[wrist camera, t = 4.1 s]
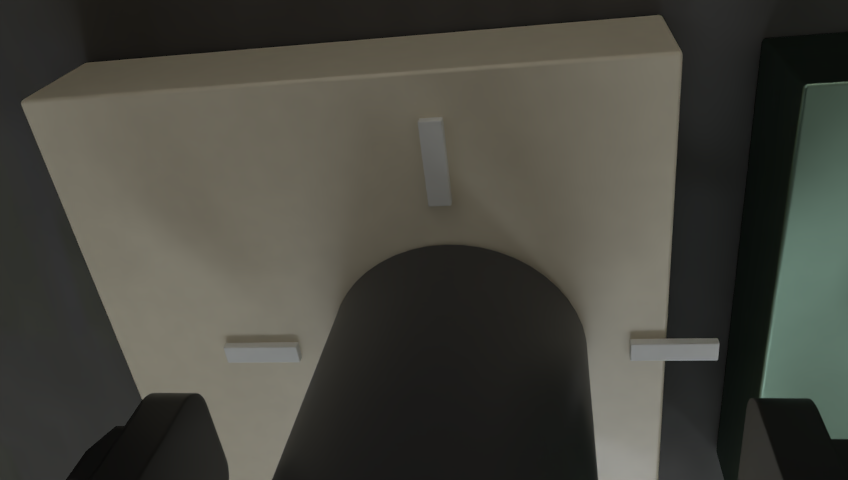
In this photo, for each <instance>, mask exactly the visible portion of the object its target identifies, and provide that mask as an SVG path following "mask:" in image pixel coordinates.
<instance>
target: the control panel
mask: <svg viewBox="0 0 848 480" xmlns="http://www.w3.org/2000/svg"><path fill="white" fill-rule="evenodd" d="M682 60H683V54H682V51H681V49H680V48H679V46H678V44H677V42H676V40H675V39H674V37H673V35H672V33H671V31H670V30H669V28H668V26H667V24H666V22H665V20H664V19H663V17H662V16H660V15H653V16H641V17H629V18H617V19H605V20H593V21H581V22H569V23H557V24H545V25H533V26H521V27H509V28H497V29H485V30H473V31H461V32H449V33H437V34H425V35H413V36H401V37H389V38H377V39H365V40H353V41H341V42H329V43H317V44H305V45H293V46H281V47H269V48H257V49H245V50H233V51H221V52H209V53H197V54H185V55H173V56H161V57H149V58H137V59H125V60H113V61H101V62H89V63H85V64H83V65H81V66H79V67H78V68H76V69H74V70H73V71H71V72H69V73H68V74H66V75H64V76H62V77H61V78H59V79H57V80H56V81H54V82H52V83H51V84H49V85H47V86H45V87H44V88H42V89H40V90H39V91H37V92H35V93H34V94H32V95H30V96H28V97H27V98H25V99H23V100H22V101H21V105H22V108H23V110H24V113H25V115H26V118H27V120H28V122H29V125H30V127H31V130H32V132H33V135H34V137H35V140H36V142H37V144H38V147H39V149H40V152H41V154H42V157H43V159H44V162H45V164H46V166H47V169H48V171H49V174H50V176H51V179H52V181H53V183H54V186H55V188H56V191H57V193H58V196H59V198H60V201H61V203H62V205H63V208H64V210H65V213H66V215H67V218H68V220H69V222H70V225H71V227H72V230H73V232H74V235H75V237H76V240H77V242H78V244H79V247H80V249H81V252H82V254H83V257H84V259H85V261H86V264H87V266H88V269H89V271H90V274H91V276H92V279H93V281H94V283H95V286H96V288H97V291H98V293H99V296H100V298H101V301H102V303H103V305H104V308H105V310H106V313H107V315H108V318H109V320H110V322H111V325H112V327H113V330H114V332H115V335H116V337H117V340H118V342H119V344H120V347H121V349H122V352H123V354H124V357H125V359H126V361H127V364H128V366H129V369H130V371H131V374H132V376H133V379H134V381H135V383H136V386H137V388H138V391H139V393H140V396H141V398H142V400H143V399H144V398H145V397H146V396H147V395H149V394H151V393H198V394H200V395H201V396H202V397H203V398H204V399H205V401H206V403H207V406H208V409H209V412H210V415H211V417H212V420H213V423H214V426H215V428H216V431H217V434H218V437H219V440H220V442H221V445H222V448H223V451H224V453H225V456H226V459H227V462H228V468H229V480H272V478H273V476H274V473H275V471H276V468H277V466H278V463H279V460H280V458H281V455H282V453H283V450H284V448H285V445H286V443H287V440H288V438H289V435H290V432H291V430H292V427H293V425H294V422H295V420H296V417H297V415H298V412H299V410H300V407H301V404H302V402H303V399H304V397H305V394H306V392H307V389H308V387H309V384H310V381H311V379H312V376H313V374H314V371H315V369H316V366H317V364H318V361H319V359H320V356H321V353H322V351H323V348H324V346H325V343H326V341H327V338H328V336H329V333H330V331H331V328H332V325H333V323H334V320H335V318H336V315H337V313H338V310H339V308H340V305H341V303H342V301H343V299H344V298H345V296H346V294H347V292H348V291H349V290H350V289H351V287H352V286H353V285H354V284H355V282H356V281H357V280H358V279H359V278H361V277H362V276H363V275H364V274H365V273H366V272H367V271H369V270H370V269H371V268H373V267H374V266H376V265H377V264H379V263H380V262H382V261H384V260H386V259H388V258H390V257H393V256H395V255H397V254H400V253H403V252H406V251H409V250H412V249H416V248H421V247H426V246H434V245H467V246H475V247H481V248H485V249H489V250H493V251H497V252H500V253H503V254H506V255H508V256H511V257H514V258H516V259H518V260H520V261H522V262H524V263H526V264H527V265H529V266H531V267H533V268H534V269H535V270H537V271H538V272H540V273H541V274H543V275H544V276H545V277H547V278H548V279H549V280H550V281H551V282H552V283H553V284H555V285H556V286H557V287H558V288H559V289H560V291H561V292H562V293H563V294H564V295H565V296H566V298H567V299H568V300H569V301H570V303H571V305H572V306H573V308H574V309H575V311H576V312H577V314H578V317H579V319H580V321H581V323H582V326H583V329H584V333H585V337H586V342H587V353H588V365H589V376H590V388H591V400H592V412H593V424H594V436H595V448H596V459H597V471H598V480H658V475H659V458H660V441H661V423H662V406H663V389H664V371H665V361H717V360H718V356H719V346H720V343H719V340H718V338H674V339H666V337H667V320H668V302H669V285H670V268H671V250H672V233H673V216H674V199H675V181H676V164H677V147H678V130H679V112H680V95H681V78H682Z"/></svg>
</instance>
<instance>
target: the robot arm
mask: <svg viewBox="0 0 848 480" xmlns="http://www.w3.org/2000/svg"><path fill="white" fill-rule="evenodd" d="M66 480H229V468H228V462H227V459H226V456H225V453H224V451H223V448H222V445H221V442H220V440H219V437H218V434H217V431H216V428H215V426H214V423H213V420H212V417H211V415H210V412H209V409H208V406H207V403H206V401H205V399H204V398H203V397H202V396H201V395H200V394H198V393H151V394H149V395H147V396H146V397H145V398H144V399H143V400H142V401H141V403H140V404H139V406H138V407H137V409H136V410H135V412H134V413H133V415H132V416H131V418H130V419H129V421H128V422H127V424H126V425H125V426H116V427H114V428H113V429H112V430H111V431H110V432H109V433H107V434H106V435H105V436H104V437H103V438H101V439H100V440H99V441H98V442H97V443H95V444H94V445H93V446H92V447H91V448H89V449H88V450H87V451H86V452H85V454H84V455H83V456H82V458H81V459H80V461H79V462H78V464H77V465H76V466H75V468H74V469H73V471H72V472H71V473H70V475H69V476H68V478H67V479H66ZM738 480H848V439H831V438H830V435H829V433H828V431H827V429H826V426H825V424H824V422H823V420H822V417H821V415H820V413H819V410H818V408H817V406H816V404H815V403H814V402H813V401H812V400H811V399H809V398H750V399H749V401H748V404H747V409H746V417H745V425H744V432H743V440H742V448H741V456H740V464H739V472H738Z"/></svg>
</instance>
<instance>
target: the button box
mask: <svg viewBox="0 0 848 480" xmlns="http://www.w3.org/2000/svg"><path fill="white" fill-rule="evenodd" d="M750 398H809V399H811V400H812V401H813V402H814V403H815V404H816V406H817V408H818V410H819V413H820V415H821V417H822V420H823V422H824V424H825V426H826V429H827V431H828V433H829V435H830V438H831V439H848V32H843V33H830V34H817V35H804V36H790V37H777V38H766V39H763V41H762V47H761V56H760V65H759V74H758V83H757V92H756V101H755V110H754V119H753V128H752V137H751V146H750V155H749V164H748V173H747V182H746V191H745V200H744V209H743V218H742V227H741V236H740V245H739V254H738V263H737V272H736V281H735V290H734V299H733V308H732V317H731V326H730V335H729V344H728V353H727V362H726V371H725V380H724V389H723V398H722V407H721V416H720V425H719V434H718V443H717V455H718V458H719V462H720V466H721V470H722V473H723V477H724V480H738V472H739V464H740V456H741V448H742V440H743V432H744V425H745V417H746V409H747V404H748V401H749V399H750Z"/></svg>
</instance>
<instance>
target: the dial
mask: <svg viewBox="0 0 848 480" xmlns="http://www.w3.org/2000/svg"><path fill="white" fill-rule="evenodd" d="M272 480H598V471H597V459H596V448H595V436H594V424H593V412H592V400H591V388H590V376H589V365H588V353H587V342H586V337H585V333H584V329H583V326H582V323H581V321H580V319H579V317H578V314H577V312H576V311H575V309H574V308H573V306H572V305H571V303H570V301H569V300H568V299H567V298H566V296H565V295H564V294H563V293H562V292H561V291H560V289H559V288H558V287H557V286H556V285H555V284H553V283H552V282H551V281H550V280H549V279H548V278H547V277H545V276H544V275H543V274H541V273H540V272H538V271H537V270H535V269H534V268H533V267H531V266H529V265H527V264H526V263H524V262H522V261H520V260H518V259H516V258H514V257H511V256H508V255H506V254H503V253H500V252H497V251H493V250H489V249H485V248H481V247H475V246H467V245H434V246H426V247H421V248H416V249H412V250H409V251H406V252H403V253H400V254H397V255H395V256H393V257H390V258H388V259H386V260H384V261H382V262H380V263H379V264H377V265H376V266H374V267H373V268H371V269H370V270H369V271H367V272H366V273H365V274H364V275H363V276H362V277H361V278H359V279H358V280H357V281H356V282H355V284H354V285H353V286H352V287H351V289H350V290H349V291H348V292H347V294H346V296H345V298H344V299H343V301H342V303H341V305H340V308H339V310H338V313H337V315H336V318H335V320H334V323H333V325H332V328H331V331H330V333H329V336H328V338H327V341H326V343H325V346H324V348H323V351H322V353H321V356H320V359H319V361H318V364H317V366H316V369H315V371H314V374H313V376H312V379H311V381H310V384H309V387H308V389H307V392H306V394H305V397H304V399H303V402H302V404H301V407H300V410H299V412H298V415H297V417H296V420H295V422H294V425H293V427H292V430H291V432H290V435H289V438H288V440H287V443H286V445H285V448H284V450H283V453H282V455H281V458H280V460H279V463H278V466H277V468H276V471H275V473H274V476H273V478H272Z"/></svg>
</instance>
